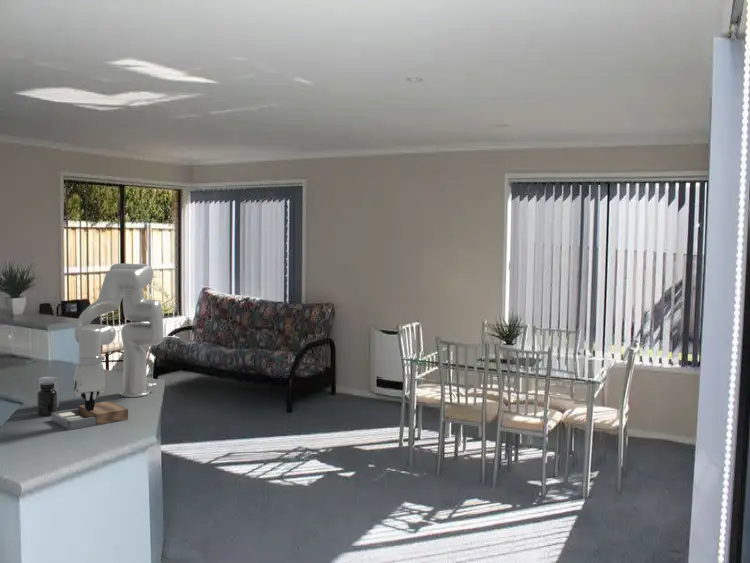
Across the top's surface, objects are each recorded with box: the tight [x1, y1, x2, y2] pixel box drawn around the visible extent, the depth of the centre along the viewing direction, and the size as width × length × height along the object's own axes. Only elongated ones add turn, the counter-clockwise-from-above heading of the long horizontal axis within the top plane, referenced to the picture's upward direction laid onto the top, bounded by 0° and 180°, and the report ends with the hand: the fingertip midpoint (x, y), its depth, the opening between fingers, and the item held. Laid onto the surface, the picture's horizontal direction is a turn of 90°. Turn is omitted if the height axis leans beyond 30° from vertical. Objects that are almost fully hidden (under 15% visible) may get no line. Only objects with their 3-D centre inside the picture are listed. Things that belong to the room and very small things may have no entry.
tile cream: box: [59, 412, 75, 418], centre depth 244 cm, size 5×5×2 cm
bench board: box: [78, 400, 129, 426], centre depth 250 cm, size 12×16×4 cm
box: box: [51, 407, 97, 431], centre depth 242 cm, size 10×16×3 cm, turn 46°
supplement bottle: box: [36, 382, 58, 417], centre depth 252 cm, size 7×7×12 cm
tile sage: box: [66, 416, 84, 421], centre depth 239 cm, size 5×5×2 cm
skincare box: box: [38, 376, 59, 408], centre depth 262 cm, size 6×4×12 cm
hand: (89, 410), depth 242 cm, fingers closed
